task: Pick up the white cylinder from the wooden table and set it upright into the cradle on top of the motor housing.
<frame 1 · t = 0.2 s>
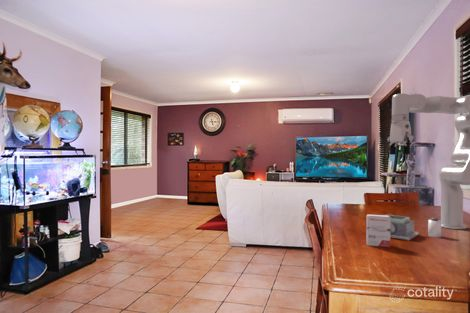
hand: (399, 154, 162), 37 cm above the table, tool pointing down, fingers open, 9 cm apart
white cylinder: (434, 236, 149), on the table
motor: (394, 234, 151), on the table
ink box: (377, 245, 132), on the table
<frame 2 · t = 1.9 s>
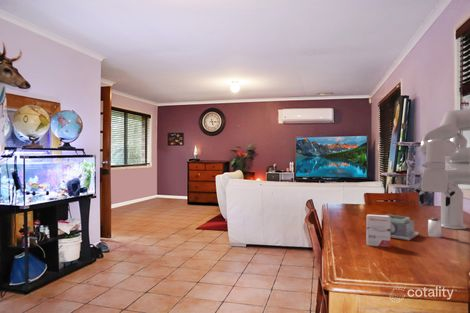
hand: (434, 204, 149), 14 cm above the table, tool pointing down, fingers open, 9 cm apart
nothing on the table moved.
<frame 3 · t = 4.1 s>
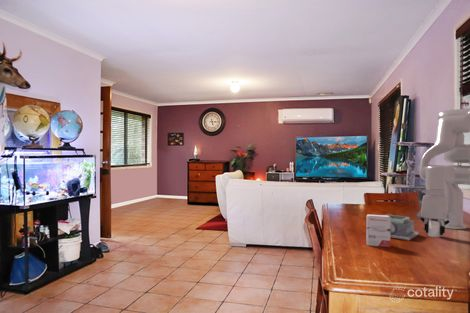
hand: (434, 233, 149), 1 cm above the table, tool pointing down, fingers closed on white cylinder, 5 cm apart
white cylinder: (434, 236, 149), on the table, touching gripper
everything else where it was.
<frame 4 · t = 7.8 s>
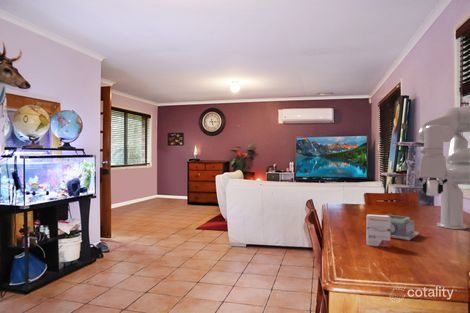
hand: (432, 192, 149), 19 cm above the table, tool pointing down, fingers closed on white cylinder, 5 cm apart
white cylinder: (432, 195, 149), point 18 cm above the table, touching gripper
everything else where it was.
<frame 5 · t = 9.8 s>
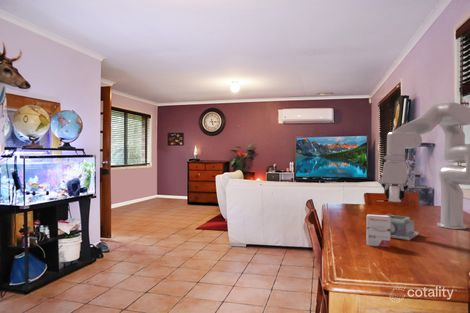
hand: (394, 198, 151), 16 cm above the table, tool pointing down, fingers closed on white cylinder, 5 cm apart
white cylinder: (394, 201, 151), point 15 cm above the table, touching gripper
everything else where it was.
when the fingers open (9 cm above the table, at t = 11.8 s): white cylinder drops 1 cm, resting on motor.
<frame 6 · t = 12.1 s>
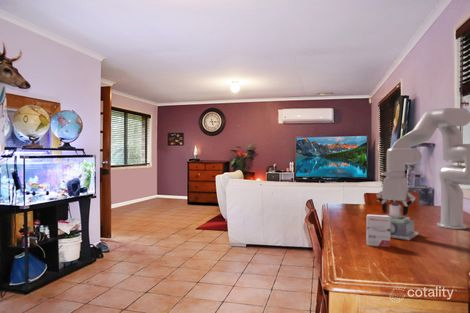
hand: (394, 213, 151), 9 cm above the table, tool pointing down, fingers open, 8 cm apart
white cylinder: (394, 220, 151), point 6 cm above the table, touching motor
everything else where it was.
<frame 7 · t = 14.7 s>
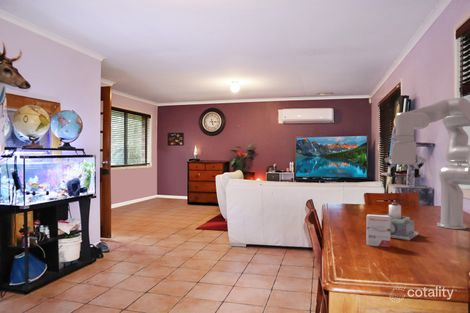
hand: (404, 177, 151), 26 cm above the table, tool pointing down, fingers open, 9 cm apart
nothing on the table moved.
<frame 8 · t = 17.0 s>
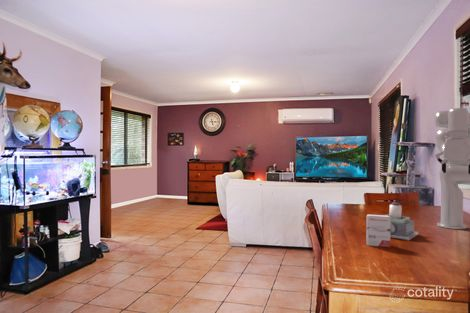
hand: (456, 173, 151), 28 cm above the table, tool pointing down, fingers open, 9 cm apart
nothing on the table moved.
at the end: white cylinder 0.1 cm off-centre on the motor, point 6.3 cm above the motor's base; white cylinder tilted 2°; the gripper is holding nothing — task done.
